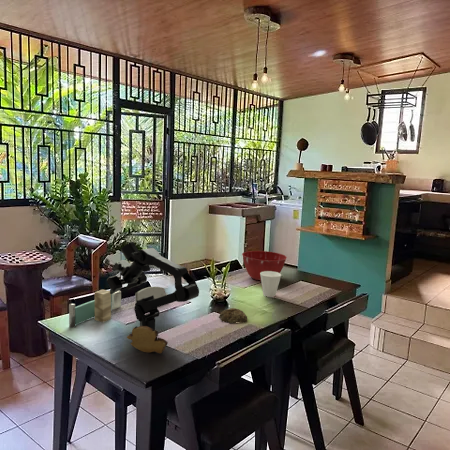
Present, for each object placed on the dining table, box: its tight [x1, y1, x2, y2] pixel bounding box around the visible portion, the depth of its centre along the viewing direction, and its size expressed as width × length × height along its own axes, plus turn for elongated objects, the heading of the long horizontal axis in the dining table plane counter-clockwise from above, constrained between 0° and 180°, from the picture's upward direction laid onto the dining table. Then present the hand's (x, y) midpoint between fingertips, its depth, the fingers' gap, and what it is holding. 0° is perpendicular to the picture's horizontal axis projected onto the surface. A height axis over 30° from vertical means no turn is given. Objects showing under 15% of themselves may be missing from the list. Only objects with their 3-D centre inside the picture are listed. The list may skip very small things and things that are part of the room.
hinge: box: [134, 286, 167, 303], centre depth 206 cm, size 17×5×10 cm, turn 129°
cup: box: [260, 271, 282, 298], centre depth 229 cm, size 12×12×12 cm
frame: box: [68, 290, 122, 329], centre depth 187 cm, size 31×2×10 cm, turn 153°
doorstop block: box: [94, 289, 112, 323], centre depth 183 cm, size 5×5×13 cm
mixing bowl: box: [241, 250, 288, 282], centre depth 262 cm, size 28×28×16 cm
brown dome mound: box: [219, 307, 248, 324], centre depth 193 cm, size 13×12×5 cm
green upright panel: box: [75, 294, 113, 326], centre depth 185 cm, size 22×2×8 cm, turn 153°
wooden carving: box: [126, 325, 169, 354], centre depth 155 cm, size 16×5×10 cm, turn 75°
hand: (118, 290), depth 181 cm, fingers open, 9 cm apart
